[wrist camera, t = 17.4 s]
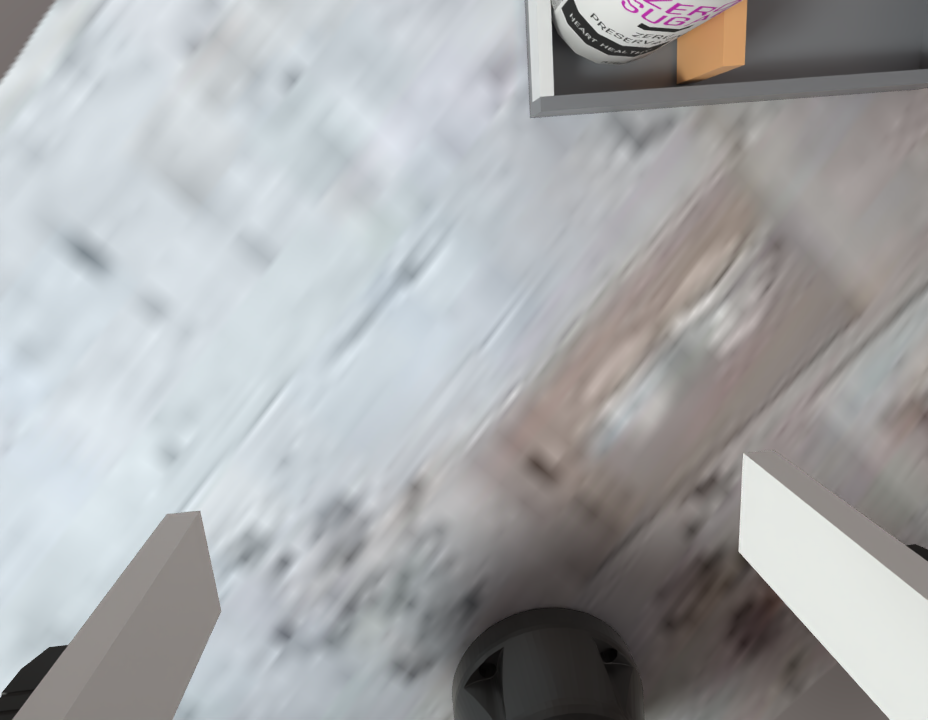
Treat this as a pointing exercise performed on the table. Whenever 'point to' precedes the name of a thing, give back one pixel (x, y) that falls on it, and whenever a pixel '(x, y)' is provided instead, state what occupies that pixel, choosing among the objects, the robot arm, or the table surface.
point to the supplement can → (628, 25)
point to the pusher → (713, 46)
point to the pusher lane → (766, 59)
